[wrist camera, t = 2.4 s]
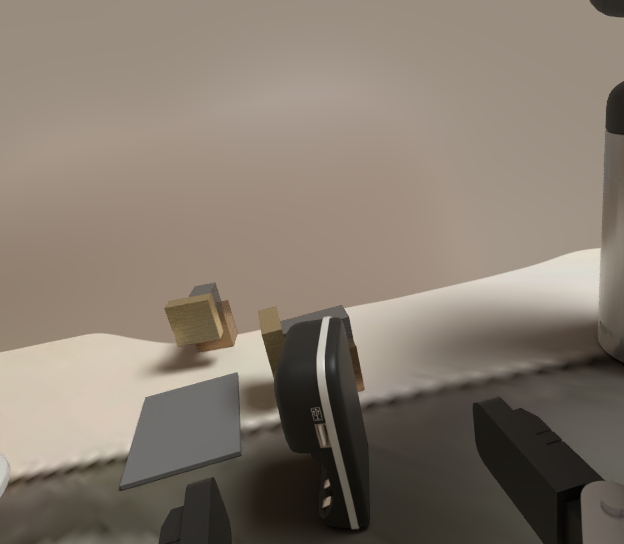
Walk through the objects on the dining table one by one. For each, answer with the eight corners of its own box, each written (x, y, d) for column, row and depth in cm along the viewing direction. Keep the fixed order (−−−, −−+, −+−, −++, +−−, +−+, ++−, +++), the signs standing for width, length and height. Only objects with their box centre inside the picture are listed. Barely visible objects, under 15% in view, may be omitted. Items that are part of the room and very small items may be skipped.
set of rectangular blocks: (221, 328, 54) (203, 270, 52) (380, 372, 40) (367, 295, 37) (165, 364, 49) (141, 301, 46) (324, 431, 34) (304, 346, 31)
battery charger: (317, 449, 33) (282, 312, 28) (369, 444, 32) (341, 304, 28) (306, 538, 26) (260, 378, 22) (371, 535, 26) (335, 369, 21)
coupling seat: (238, 375, 44) (237, 372, 44) (241, 455, 34) (240, 451, 33) (147, 400, 43) (145, 397, 43) (121, 490, 33) (119, 486, 33)
